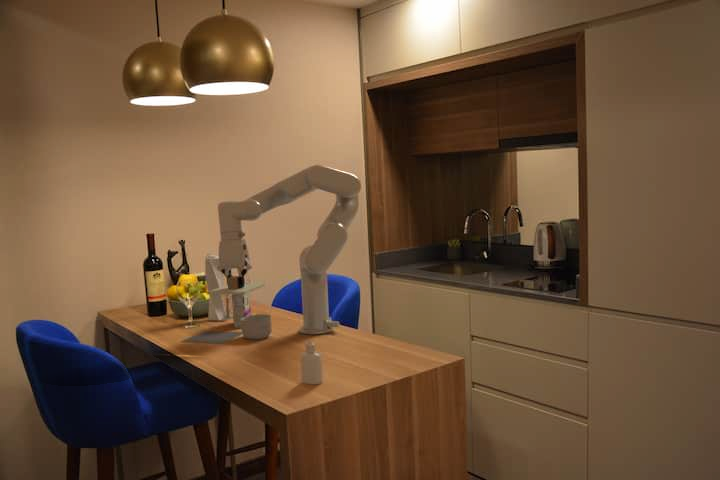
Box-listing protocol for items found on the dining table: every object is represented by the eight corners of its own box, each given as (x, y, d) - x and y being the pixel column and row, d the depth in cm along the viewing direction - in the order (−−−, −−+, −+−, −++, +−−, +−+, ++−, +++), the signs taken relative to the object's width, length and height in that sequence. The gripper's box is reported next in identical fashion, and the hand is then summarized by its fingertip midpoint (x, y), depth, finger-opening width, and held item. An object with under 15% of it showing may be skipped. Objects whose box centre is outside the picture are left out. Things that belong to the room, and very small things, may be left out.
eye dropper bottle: (312, 378, 178) (310, 336, 177) (324, 382, 173) (322, 339, 172) (299, 382, 175) (297, 339, 174) (311, 386, 171) (309, 342, 170)
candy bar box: (239, 323, 253) (237, 282, 251) (251, 322, 253) (249, 281, 251) (233, 329, 242) (230, 287, 240) (246, 329, 241) (243, 286, 240)
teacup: (262, 343, 219) (261, 320, 218) (235, 341, 223) (234, 319, 222) (281, 333, 232) (280, 312, 231) (255, 332, 236) (254, 311, 235)
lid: (264, 285, 231) (263, 272, 231) (244, 294, 217) (243, 280, 217) (228, 286, 236) (227, 273, 235) (206, 294, 222) (205, 281, 221)
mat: (246, 333, 234) (246, 332, 234) (222, 345, 218) (222, 344, 218) (205, 332, 239) (205, 330, 239) (179, 343, 223) (179, 341, 223)
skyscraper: (221, 322, 255) (217, 253, 253) (204, 321, 258) (199, 253, 255) (231, 317, 263) (228, 250, 261) (214, 317, 266) (210, 250, 263)
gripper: (257, 234, 225) (261, 285, 227) (216, 236, 231) (221, 285, 233) (247, 236, 218) (252, 289, 220) (205, 238, 224) (210, 289, 225)
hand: (236, 286), depth 226 cm, fingers closed on lid, 3 cm apart
